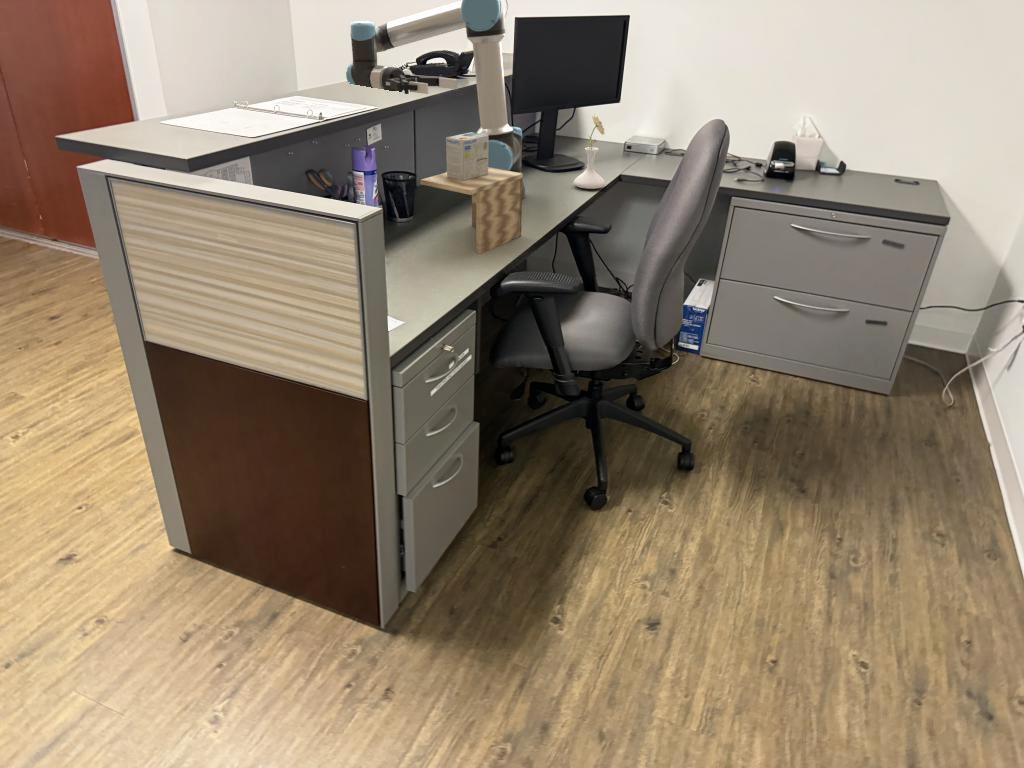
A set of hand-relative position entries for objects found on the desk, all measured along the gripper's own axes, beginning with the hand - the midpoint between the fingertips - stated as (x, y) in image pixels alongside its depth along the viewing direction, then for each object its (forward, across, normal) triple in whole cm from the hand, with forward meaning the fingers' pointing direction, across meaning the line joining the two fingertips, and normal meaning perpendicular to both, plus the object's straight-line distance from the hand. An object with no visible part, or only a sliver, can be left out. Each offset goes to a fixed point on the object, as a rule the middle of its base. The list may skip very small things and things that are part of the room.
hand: (442, 86), depth 221 cm
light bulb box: (+22, +16, -20) cm, 34 cm away
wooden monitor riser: (+23, +16, -38) cm, 47 cm away
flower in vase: (+19, -60, -38) cm, 74 cm away
